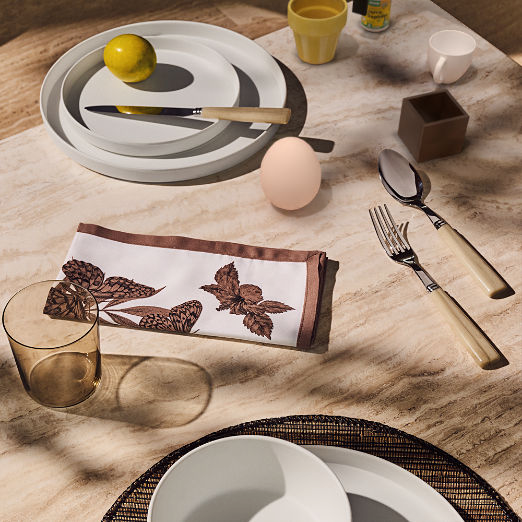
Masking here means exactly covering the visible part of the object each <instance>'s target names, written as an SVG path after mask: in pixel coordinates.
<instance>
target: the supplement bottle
mask: <svg viewBox="0 0 522 522" xmlns="http://www.w3.org/2000/svg"><path fill="white" fill-rule="evenodd" d="M392 1H393V0H369V2H368V12H367V15H366V16H363V15H360V16H361V17H360V25H361V27H362V28H363V29H364V30H366V31H368V32H373V33H378V32H383V31H385V30H386V29H387V28H389V26H390V20H391V19H390V18H391V10H392V3H393V2H392Z"/></svg>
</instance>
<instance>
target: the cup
mask: <svg viewBox="0 0 522 522" xmlns="http://www.w3.org/2000/svg"><path fill="white" fill-rule="evenodd" d="M476 49H477V41H476V40H475V38H474V37H473V36H472V35H470V34H468V33H466V32H463V31H460V30H455V29H454V30H453V29H445V30H440V31H437V32H435V33H433V34H432V35H431V36H430V37H429V40H428V46H427V54H426V56H427V58H426V59H427V66H428V68H429V69H428V70H429V71H430V73H431V75H432V79H433V82H434V83H435V84H439V85H440V84H445V85H448V84H453V83H456V82H457V81H458V80H459V79H461V78H462V77H463V76H464V75H465V73H467V71H468V70H469V68H470V66H471V64H472V62H473V59H474V56H475V52H476Z"/></svg>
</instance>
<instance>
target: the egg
mask: <svg viewBox="0 0 522 522" xmlns="http://www.w3.org/2000/svg"><path fill="white" fill-rule="evenodd" d="M259 168H260V169H259V183H260V186H261V187H260V188H261V190H262V192H263V194H264V196H265V197H266V199H267V200H268V201H269V202H270V203H271V204H273V205H274V206H275V207H277V208H280V209H282V210H287V211H293V210H295V211H296V210H299V209H301V208H304V207H305V206H307V205H308V204H310V203H311V202H312V201H313V200H314V198H316V196H317V194H318V192H319V191H320V190H319V189H320V187H321V183H322V168H321V163H320V160H319V157H318V155H317V154H316V152H315V150H314V149H313V147H312V146H311V145H310V144H309V143H308V142H306V141H305V140H304V139H301V138H299V137H296V136H285V137H282V138H280V139H278V140H276V141H275V142H274V143H273V144H271V146H270V147H269V148H268V150H267V151H266V153H265V154H264V156H263V158H262V160H261V163H260V167H259Z"/></svg>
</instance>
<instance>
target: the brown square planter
mask: <svg viewBox="0 0 522 522" xmlns="http://www.w3.org/2000/svg"><path fill="white" fill-rule="evenodd" d="M470 118H471V116H470V115H469V114H468V112H467V111H466V110H465V108H463V106H462V105H461V104H460V103H459V101H458V100H457V99H456V98H455V96H453V94H452V93H451V92H450V90H448V88H442V89H438V90H433V91H429V92H425V93H424V92H423V93H420V94H415V95H411V96H407V97H402V101H401V108H400V115H399V121H398V127H397V136H398V137H399V139H400V140H401V142H402V143H403V144H404V146H405V147H406V148H407V150H408V152H409V153H410V155H411V157H412V158H413V159H414V160H415V162H416V163H417V164H420V163H423V162H427V161H432V160H436V159H441V158H444V157H449V156H453V155H456V154H457V155H458V154H461V153H462V149H463V145H464V142H465V137H466V133H467V130H468V125H469V121H470Z"/></svg>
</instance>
